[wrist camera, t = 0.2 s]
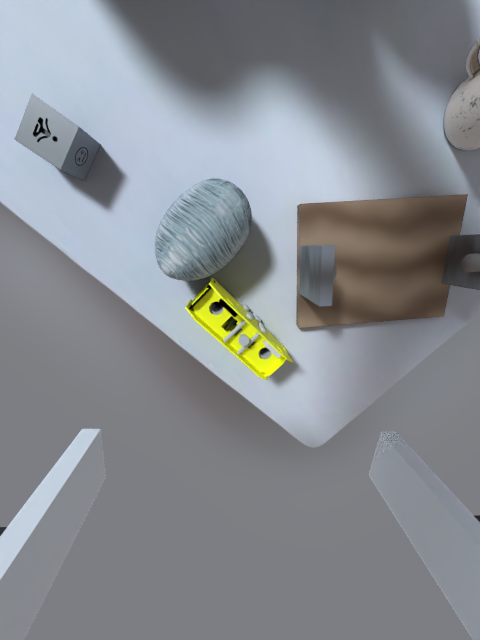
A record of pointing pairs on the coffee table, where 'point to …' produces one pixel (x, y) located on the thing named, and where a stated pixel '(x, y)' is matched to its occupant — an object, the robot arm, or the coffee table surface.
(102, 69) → the coffee table surface
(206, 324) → the yellow toy chassis
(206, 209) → the grey egg-shaped piece
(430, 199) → the roll holder
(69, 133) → the dice cube
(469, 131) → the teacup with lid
